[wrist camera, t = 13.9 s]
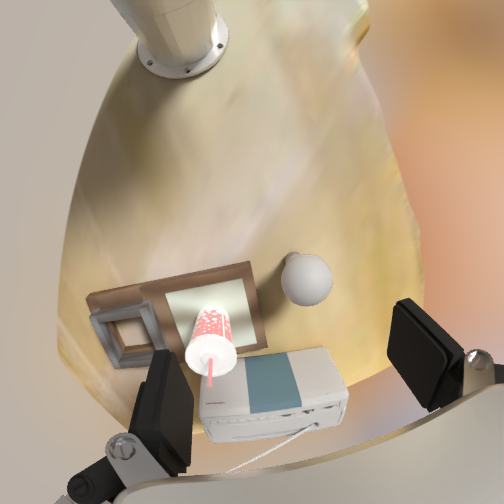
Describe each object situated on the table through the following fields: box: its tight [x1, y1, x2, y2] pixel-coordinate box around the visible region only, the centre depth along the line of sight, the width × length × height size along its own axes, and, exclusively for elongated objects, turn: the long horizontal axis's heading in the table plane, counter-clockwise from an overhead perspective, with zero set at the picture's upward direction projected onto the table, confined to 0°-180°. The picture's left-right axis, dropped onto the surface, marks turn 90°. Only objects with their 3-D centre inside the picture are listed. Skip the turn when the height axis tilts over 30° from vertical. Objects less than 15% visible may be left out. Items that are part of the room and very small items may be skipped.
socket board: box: [86, 261, 268, 369], centre depth 39 cm, size 14×26×4 cm, turn 101°
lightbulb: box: [281, 252, 333, 306], centre depth 35 cm, size 6×6×11 cm
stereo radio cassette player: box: [198, 346, 349, 473], centre depth 36 cm, size 21×8×20 cm, turn 94°
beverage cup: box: [185, 306, 237, 390], centre depth 32 cm, size 6×6×14 cm
